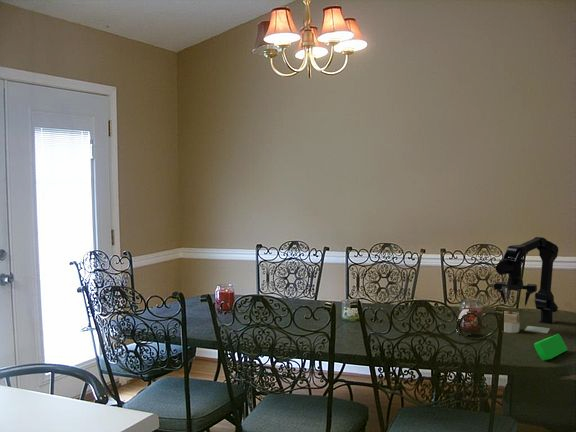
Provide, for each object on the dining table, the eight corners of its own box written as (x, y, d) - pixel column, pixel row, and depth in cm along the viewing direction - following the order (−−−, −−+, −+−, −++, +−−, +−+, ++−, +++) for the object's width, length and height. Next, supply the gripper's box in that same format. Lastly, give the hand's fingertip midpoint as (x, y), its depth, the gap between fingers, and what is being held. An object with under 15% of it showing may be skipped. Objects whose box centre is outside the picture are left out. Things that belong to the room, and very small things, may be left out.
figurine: (474, 337, 261) (474, 311, 261) (457, 336, 263) (457, 310, 262) (472, 332, 268) (472, 307, 268) (455, 332, 270) (456, 307, 269)
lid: (503, 319, 275) (503, 309, 275) (519, 321, 272) (519, 311, 271) (500, 322, 269) (500, 312, 269) (516, 324, 266) (516, 314, 265)
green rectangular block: (547, 357, 244) (538, 341, 246) (568, 349, 238) (559, 333, 240) (526, 367, 230) (517, 350, 233) (548, 360, 224) (538, 342, 226)
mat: (527, 326, 279) (527, 325, 279) (550, 329, 274) (550, 328, 274) (524, 331, 270) (524, 330, 270) (547, 334, 265) (547, 333, 265)
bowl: (502, 328, 276) (502, 319, 276) (520, 330, 272) (520, 321, 272) (499, 332, 269) (499, 322, 269) (517, 334, 265) (517, 324, 265)
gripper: (491, 274, 270) (491, 306, 271) (534, 276, 261) (534, 310, 262) (495, 270, 280) (496, 301, 281) (537, 272, 270) (537, 305, 272)
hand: (515, 304), depth 274 cm, fingers open, 9 cm apart
